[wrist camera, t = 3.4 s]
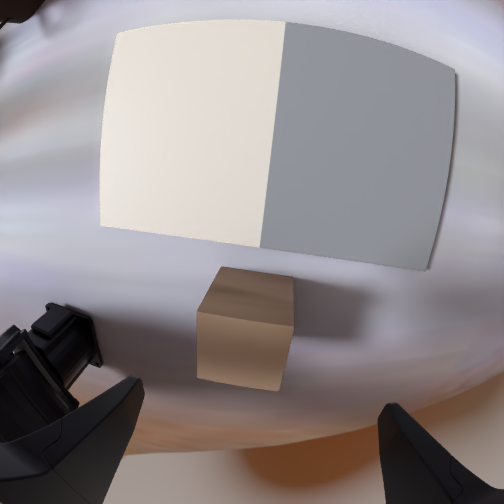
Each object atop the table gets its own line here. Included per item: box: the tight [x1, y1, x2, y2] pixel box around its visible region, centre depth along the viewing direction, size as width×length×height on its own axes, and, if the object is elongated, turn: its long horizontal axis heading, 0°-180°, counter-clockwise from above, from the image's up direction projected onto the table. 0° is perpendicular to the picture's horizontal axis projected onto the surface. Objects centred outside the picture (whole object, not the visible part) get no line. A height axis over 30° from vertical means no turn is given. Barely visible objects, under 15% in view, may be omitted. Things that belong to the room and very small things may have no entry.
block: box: [197, 267, 295, 391], centre depth 18 cm, size 5×5×6 cm
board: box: [100, 20, 455, 272], centre depth 16 cm, size 15×24×1 cm, turn 84°
